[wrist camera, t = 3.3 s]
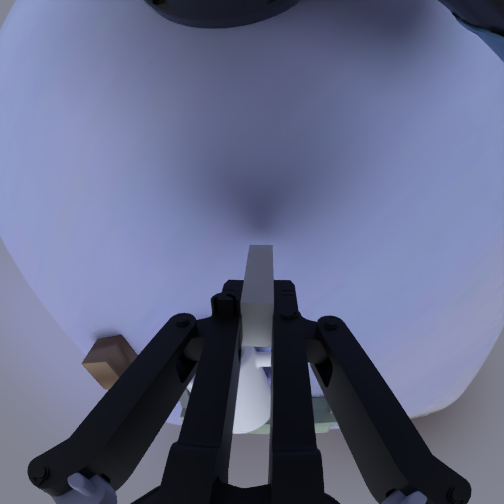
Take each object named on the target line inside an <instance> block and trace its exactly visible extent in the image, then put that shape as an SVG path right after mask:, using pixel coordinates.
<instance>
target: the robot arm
mask: <svg viewBox="0 0 504 504" xmlns="http://www.w3.org/2000/svg"><path fill="white" fill-rule="evenodd" d="M144 1H145V2H146V3H147V4H148V5H149V6H150V7H152V8H153V9H154V10H155V11H156V12H157V13H159V14H160V15H161V16H163V17H164V18H166V19H168V20H170V21H173V22H176V23H179V24H182V25H186V26H192V27H200V28H226V27H235V26H241V25H247V24H251V23H255V22H258V21H262V20H265V19H268V18H270V17H273V16H275V15H277V14H280V13H282V12H283V11H285V10H287V9H289V8H290V7H292V6H293V5H295V4H296V3H297V2H299V1H300V0H144ZM438 1H440V2H441V3H442V4H443V5H445V6H446V7H447V8H448V9H449V10H450V11H451V13H452V14H453V15H454V16H455V18H456V20H457V21H458V22H459V23H460V24H461V25H462V26H464V27H465V28H466V29H468V30H469V31H471V32H473V33H475V34H477V35H478V36H479V37H480V38H481V39H482V40H483V41H484V42H485V43H486V44H487V45H488V46H489V47H490V48H491V49H492V50H493V51H494V52H495V53H496V54H497V55H498V57H499V58H500V59H501V60H502V61H503V62H504V0H438ZM211 306H212V316H211V317H208V318H205V319H199V320H196V318H195V317H194V316H193V315H191V314H189V313H180V314H176V315H174V316H173V317H171V318H170V319H169V320H168V322H167V323H166V324H165V325H164V326H163V327H162V328H161V330H160V331H159V332H158V333H157V334H156V335H155V337H154V338H153V339H152V340H151V341H150V342H149V343H148V345H147V346H146V347H145V348H144V349H143V350H142V352H141V353H140V354H139V355H138V356H137V357H136V359H135V360H134V361H133V362H132V363H131V364H130V366H129V367H128V368H127V369H126V370H125V372H124V373H123V374H122V375H121V376H120V377H119V379H118V380H117V381H116V382H115V383H114V385H113V386H112V387H111V388H110V389H109V390H108V392H107V393H106V394H105V395H104V397H103V398H102V399H101V400H100V401H99V402H98V404H97V405H96V406H95V407H94V409H93V410H92V411H91V412H90V413H89V415H88V416H87V417H86V418H85V420H84V421H83V422H82V423H81V424H80V425H79V427H78V428H77V429H76V431H75V432H74V433H73V434H72V435H71V436H70V438H68V439H67V440H65V441H64V442H62V443H60V444H58V445H57V446H55V447H53V448H52V449H50V450H48V451H46V452H45V453H43V454H41V455H39V456H38V457H36V458H34V459H33V460H32V461H31V462H30V464H29V466H28V476H29V479H30V481H31V482H32V483H33V484H34V485H35V486H37V487H38V488H39V489H41V490H43V491H44V492H46V493H48V494H49V495H51V496H52V498H53V499H54V501H55V502H56V504H117V496H116V492H115V491H116V490H118V489H119V488H120V487H121V486H122V485H123V484H124V483H125V482H126V481H127V480H128V478H129V477H130V476H131V474H132V473H133V471H134V470H135V468H136V467H137V465H138V464H139V462H140V461H141V459H142V457H143V456H144V454H145V453H146V451H147V450H148V448H149V447H150V445H151V443H152V442H153V440H154V439H155V437H156V436H157V434H158V432H159V431H160V429H161V428H162V426H163V424H164V423H165V421H166V420H167V418H168V417H169V415H170V414H171V412H172V410H173V409H174V407H175V406H176V404H177V402H178V401H179V399H180V398H181V396H182V394H183V393H184V391H185V390H186V388H187V386H188V385H189V383H190V382H191V380H192V378H193V377H194V375H195V378H194V382H193V385H192V389H191V393H190V397H189V400H188V404H187V408H186V412H185V416H184V420H183V424H182V428H181V432H180V435H179V439H178V441H177V442H175V443H173V444H172V446H171V448H170V451H169V455H168V458H167V462H166V466H165V470H164V474H163V478H162V482H161V485H160V486H158V487H156V488H155V489H153V490H151V491H150V492H148V493H147V494H145V495H144V496H142V497H140V498H139V499H137V500H136V501H134V502H132V503H131V504H340V503H339V502H338V501H337V500H335V499H334V498H333V497H331V496H330V495H328V494H326V493H324V481H323V467H322V458H321V453H320V450H319V449H317V445H316V435H315V423H314V413H313V404H312V395H311V386H310V377H309V369H308V362H310V366H311V368H312V370H313V372H314V374H315V376H316V378H317V381H318V383H319V385H320V387H321V389H322V391H323V393H324V395H325V398H326V400H327V402H328V404H329V406H330V408H331V410H332V412H333V415H334V417H335V419H336V421H337V423H338V425H339V427H340V429H341V432H342V434H343V436H344V438H345V440H346V442H347V444H348V446H349V449H350V451H351V453H352V455H353V457H354V459H355V461H356V464H357V466H358V468H359V470H360V472H361V474H362V477H363V479H364V481H365V483H366V485H367V487H368V489H369V491H370V492H371V494H372V495H373V497H374V498H375V499H376V501H377V502H378V503H379V504H467V503H468V501H469V499H470V497H471V486H470V484H469V483H468V481H467V480H466V479H464V478H463V477H462V476H460V475H459V474H457V473H456V472H455V471H453V470H452V469H451V468H449V467H448V466H447V465H445V464H444V463H443V462H441V461H440V460H438V459H437V458H436V457H435V456H433V455H432V453H431V452H430V450H429V449H428V447H427V445H426V444H425V442H424V441H423V439H422V437H421V436H420V434H419V433H418V431H417V430H416V428H415V426H414V425H413V423H412V422H411V420H410V418H409V417H408V415H407V414H406V412H405V411H404V409H403V408H402V406H401V405H400V403H399V401H398V400H397V398H396V397H395V395H394V394H393V392H392V391H391V389H390V388H389V386H388V385H387V383H386V382H385V380H384V379H383V377H382V376H381V375H380V373H379V372H378V370H377V369H376V367H375V366H374V364H373V363H372V361H371V360H370V358H369V357H368V356H367V354H366V353H365V351H364V350H363V348H362V347H361V346H360V344H359V343H358V341H357V340H356V338H355V337H354V336H353V334H352V333H351V331H350V330H349V328H348V327H347V326H346V324H345V323H344V322H343V321H342V320H341V319H340V318H338V317H335V316H324V317H321V318H320V319H319V320H318V321H317V322H315V321H310V320H307V319H305V318H303V317H302V316H301V314H300V312H299V311H298V305H297V298H296V291H295V285H294V284H293V283H292V282H291V281H290V280H273V245H250V246H249V253H248V259H247V265H246V271H245V277H244V280H228V281H227V282H226V283H225V284H224V286H223V290H222V292H221V293H218V294H216V295H214V296H213V297H212V298H211ZM242 346H250V347H272V349H271V405H270V446H269V474H268V484H267V485H262V486H257V487H250V488H239V487H236V486H233V485H229V484H228V468H229V459H230V450H231V442H232V434H233V425H234V417H235V408H236V400H237V391H238V383H239V374H240V366H241V357H242ZM195 373H196V374H195Z"/></svg>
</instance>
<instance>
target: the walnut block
mask: <svg viewBox="0 0 504 504" xmlns="http://www.w3.org/2000/svg"><path fill="white" fill-rule="evenodd" d="M137 356H138V355H137V354H136V353H135V351H134V350H133V349H132V347H131V346H130V345H129V344H128V342H127V341H126V340H125V338H124V337H123V336H122V335H118V336H113V337H107V338H101V339H97V341H96V342H95V344H94V345H93V347H92V348H91V350H90V351H89V353H88V354H87V356H86V358H85V359H84V361H83V362H82V365H83V366H84V367H85V368H86V369H87V371H88V372H89V373H90V374H91V375H92V376H93V377H94V378H95V379H96V381H97V382H98V383H100V385H101V386H102V387H103V388H104V389H110V388H111V387H112V386H113V385H114V383H115V382H116V381H117V380H118V379H119V377H120V376H121V375H122V374H123V373H124V372H125V370H126V369H127V368H128V367H129V366H130V364H131V363H132V362H133V361H134V360H135V359H136V357H137Z"/></svg>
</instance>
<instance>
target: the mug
mask: <svg viewBox="0 0 504 504" xmlns="http://www.w3.org/2000/svg"><path fill="white" fill-rule="evenodd" d="M263 367H271V352H257V351H256V350H255V347H250V346H242V357H241V366H240V374H239V383H238V391H237V400H236V408H235V417H234V425H233V433H236V434H240V433H247V432H251V431H253V430H256V429H258V428H259V427H261V426H262V425H264V424H265V423H266V422H267V421H268V420H269V418H270V405H271V386H270V384H269V381H268V379H267V377H266V374H265V372H264V369H263ZM195 374H196V373H195ZM194 378H195V375H194V377H193V378H192V380H191V382H190V383H189V385H188V386H187V389H188V390H189V391H190V393H191V389H192V385H193V382H194Z"/></svg>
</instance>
